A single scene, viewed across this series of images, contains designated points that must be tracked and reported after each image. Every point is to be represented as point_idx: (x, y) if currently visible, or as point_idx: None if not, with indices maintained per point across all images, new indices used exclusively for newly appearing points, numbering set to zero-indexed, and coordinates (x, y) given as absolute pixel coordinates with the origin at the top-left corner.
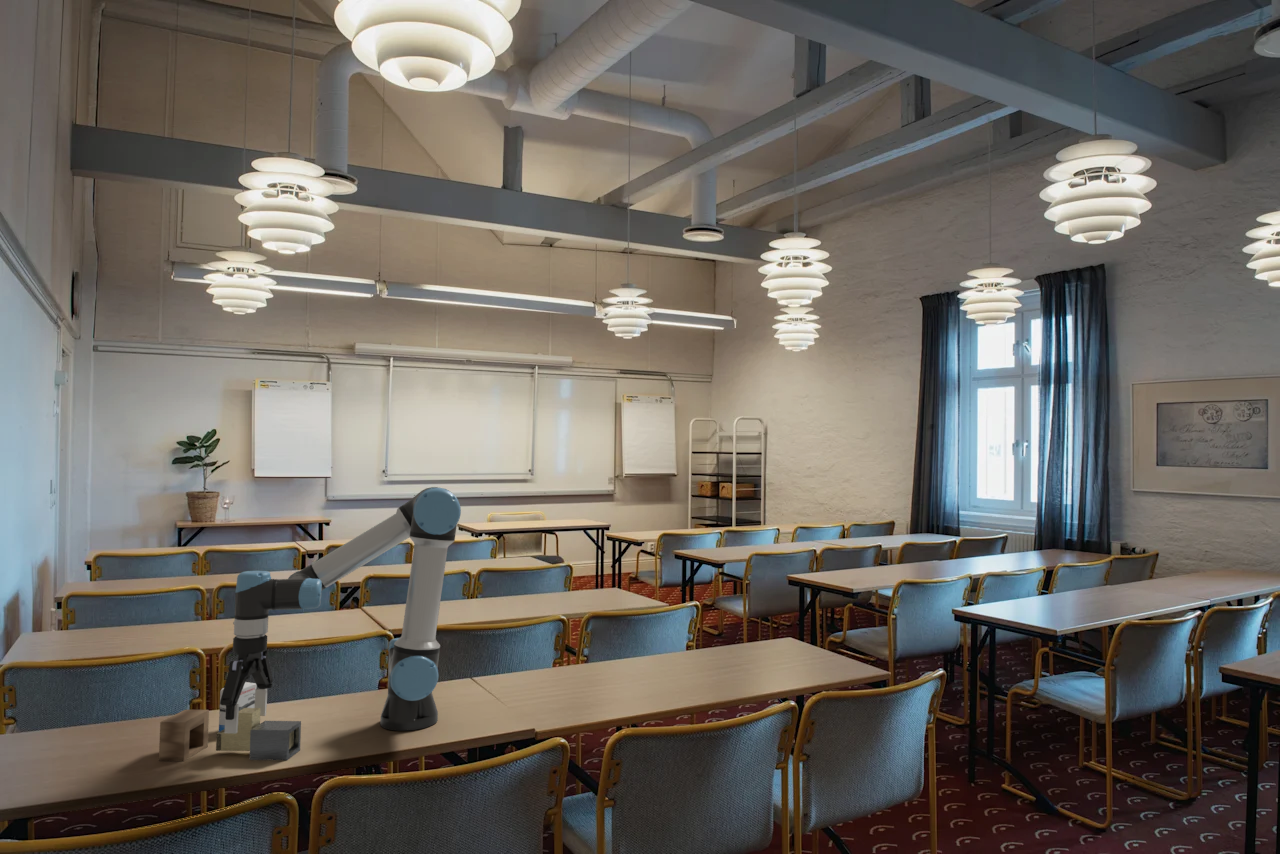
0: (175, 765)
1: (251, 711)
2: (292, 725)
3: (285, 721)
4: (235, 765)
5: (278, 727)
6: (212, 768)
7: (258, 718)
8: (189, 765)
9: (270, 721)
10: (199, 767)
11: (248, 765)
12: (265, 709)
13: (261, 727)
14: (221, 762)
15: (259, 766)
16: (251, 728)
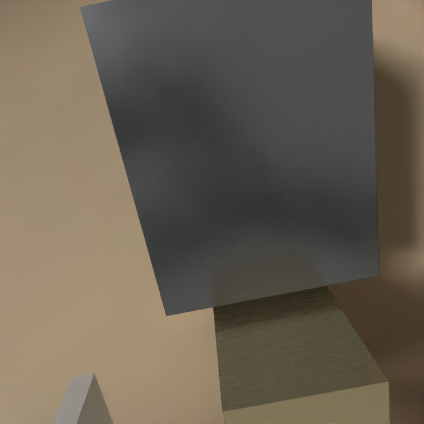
0: (394, 410)
1: (341, 413)
2: (223, 4)
3: (135, 155)
4: (381, 217)
5: (298, 104)
6: (419, 280)
7: (242, 341)
8: (391, 372)
9: (171, 269)
10: (410, 330)
11: (377, 161)
12: (71, 414)
13: (318, 238)
14: (352, 293)
15: (387, 99)
16: (332, 295)
